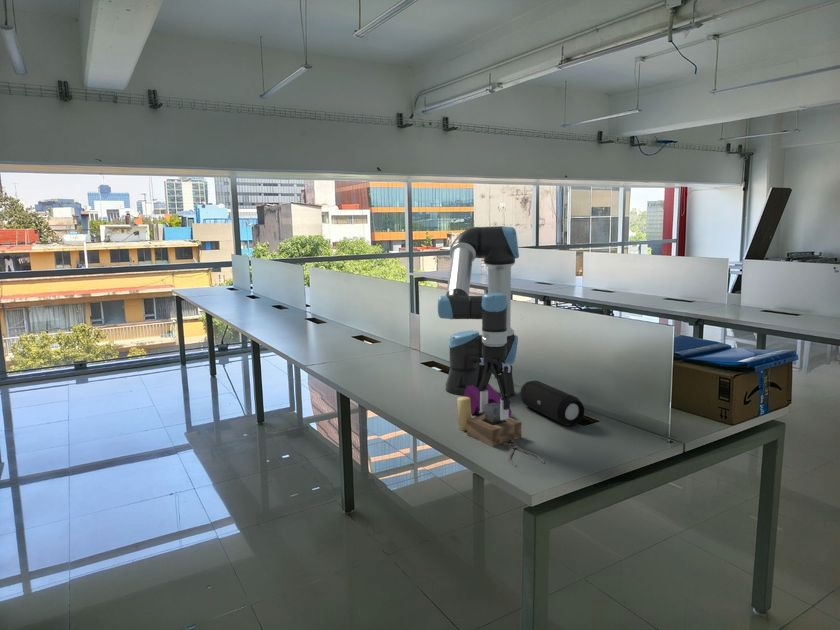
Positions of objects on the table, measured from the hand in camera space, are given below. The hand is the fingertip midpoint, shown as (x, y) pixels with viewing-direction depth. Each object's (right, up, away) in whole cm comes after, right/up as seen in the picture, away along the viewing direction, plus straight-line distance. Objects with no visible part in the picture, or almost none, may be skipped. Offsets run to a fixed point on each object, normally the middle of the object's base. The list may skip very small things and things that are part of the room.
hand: (493, 414), depth 177 cm
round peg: (-8, -6, +8) cm, 13 cm away
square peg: (0, -7, +1) cm, 7 cm away
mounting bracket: (+1, -4, +20) cm, 21 cm away
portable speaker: (+22, -4, +19) cm, 29 cm away
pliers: (+4, -9, -12) cm, 16 cm away
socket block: (0, -7, +1) cm, 7 cm away
